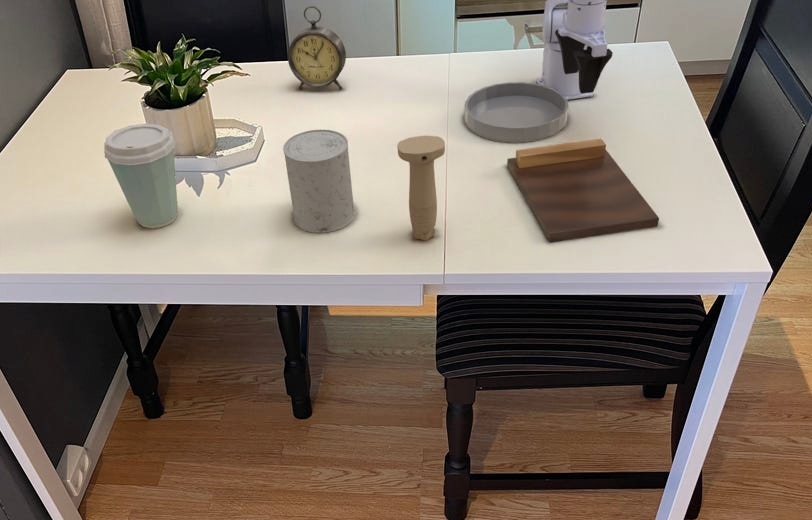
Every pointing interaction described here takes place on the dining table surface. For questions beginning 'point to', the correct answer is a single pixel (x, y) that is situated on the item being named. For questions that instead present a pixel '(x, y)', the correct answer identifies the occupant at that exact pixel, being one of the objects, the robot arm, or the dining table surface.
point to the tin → (516, 112)
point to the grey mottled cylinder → (319, 180)
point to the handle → (422, 181)
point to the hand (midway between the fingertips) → (578, 82)
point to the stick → (560, 153)
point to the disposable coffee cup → (145, 171)
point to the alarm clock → (316, 55)
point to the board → (582, 198)
